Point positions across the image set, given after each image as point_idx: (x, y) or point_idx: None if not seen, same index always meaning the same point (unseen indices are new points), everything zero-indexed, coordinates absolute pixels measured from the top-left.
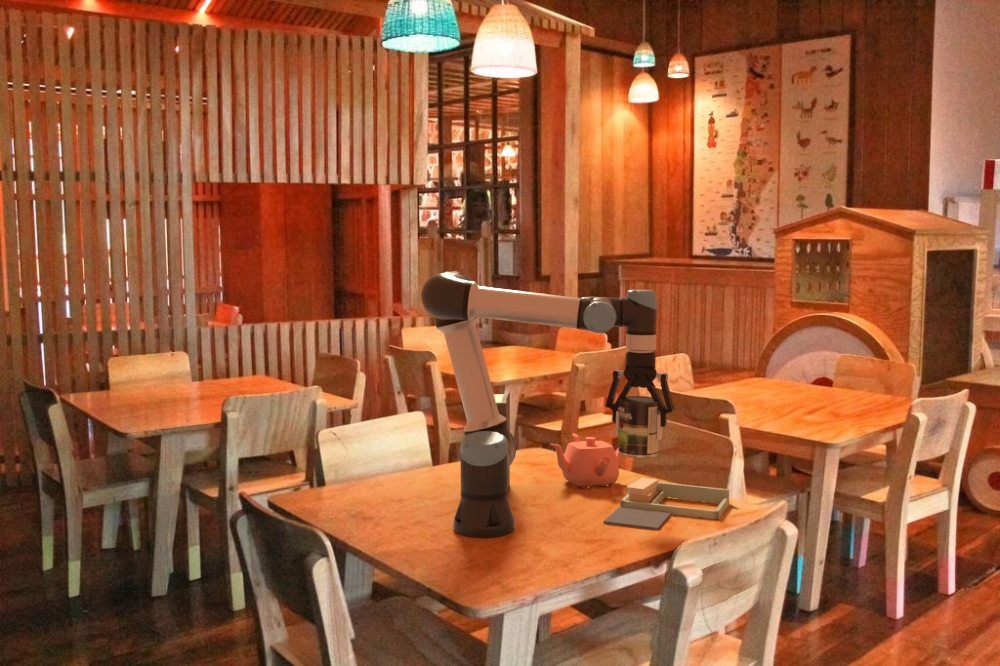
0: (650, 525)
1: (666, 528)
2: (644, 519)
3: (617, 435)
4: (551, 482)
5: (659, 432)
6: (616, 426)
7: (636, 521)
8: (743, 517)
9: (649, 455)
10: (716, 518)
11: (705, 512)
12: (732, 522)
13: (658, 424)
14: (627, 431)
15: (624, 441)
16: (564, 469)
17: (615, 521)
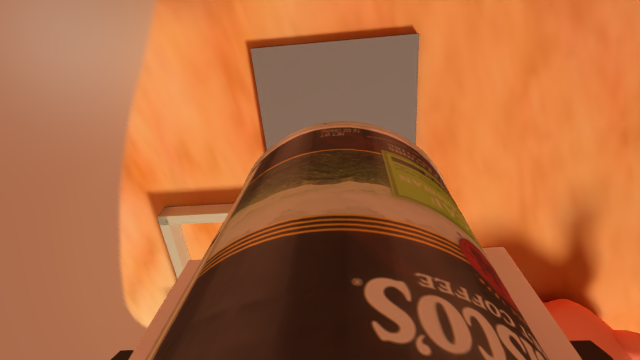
0: (277, 61)
1: (238, 77)
2: (313, 108)
3: (491, 250)
4: (637, 317)
5: (167, 298)
6: (534, 300)
7: (326, 79)
8: (128, 244)
9: (253, 169)
10: (168, 207)
11: (189, 212)
12: (128, 201)
13: (145, 352)
14: (396, 200)
15: (409, 168)
16: (631, 332)
17: (383, 48)
